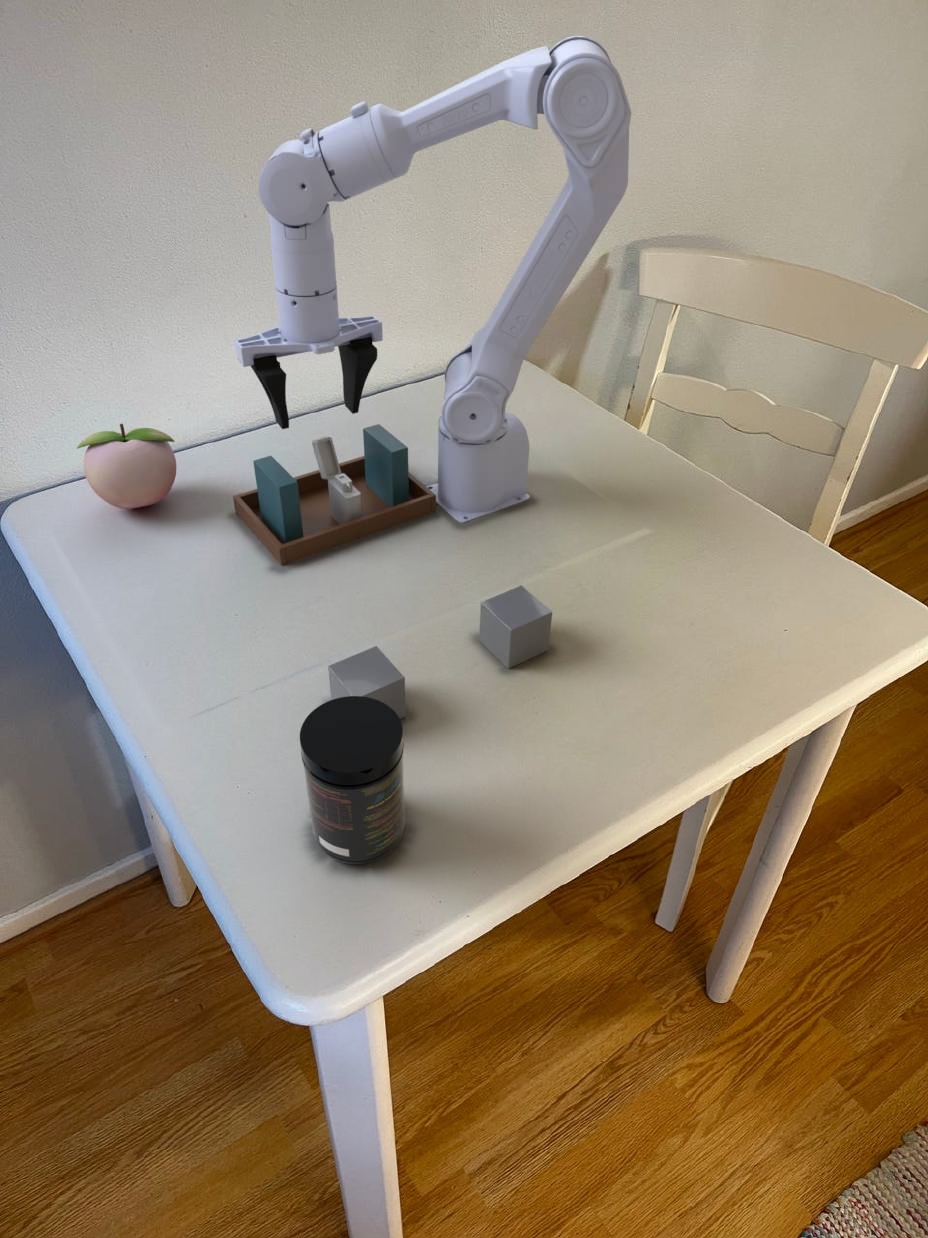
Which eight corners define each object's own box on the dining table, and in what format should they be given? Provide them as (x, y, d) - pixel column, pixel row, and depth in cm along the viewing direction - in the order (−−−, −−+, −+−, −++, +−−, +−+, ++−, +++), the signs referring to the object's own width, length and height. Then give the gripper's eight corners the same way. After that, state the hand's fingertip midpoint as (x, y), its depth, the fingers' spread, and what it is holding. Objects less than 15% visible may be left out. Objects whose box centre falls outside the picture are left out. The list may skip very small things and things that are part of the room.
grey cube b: (378, 684, 77) (376, 645, 74) (405, 716, 74) (405, 677, 71) (331, 705, 75) (327, 665, 72) (358, 739, 72) (355, 699, 69)
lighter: (363, 528, 94) (359, 461, 88) (348, 533, 93) (344, 466, 88) (331, 497, 98) (325, 431, 93) (317, 501, 97) (310, 435, 92)
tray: (383, 468, 104) (382, 449, 102) (436, 514, 97) (436, 495, 95) (235, 515, 96) (232, 495, 94) (281, 569, 89) (279, 549, 87)
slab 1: (278, 512, 95) (271, 454, 91) (304, 540, 92) (297, 481, 87) (261, 518, 95) (252, 460, 90) (286, 546, 91) (279, 487, 86)
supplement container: (420, 808, 67) (419, 711, 60) (382, 882, 62) (376, 785, 55) (338, 782, 69) (328, 684, 62) (295, 851, 64) (279, 754, 57)
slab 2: (381, 479, 101) (378, 423, 96) (409, 504, 97) (408, 447, 93) (365, 484, 100) (362, 428, 96) (393, 509, 96) (391, 452, 92)
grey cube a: (518, 622, 83) (521, 584, 81) (548, 650, 81) (552, 612, 78) (478, 640, 81) (480, 601, 79) (508, 669, 79) (511, 630, 76)
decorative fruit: (101, 539, 92) (77, 453, 85) (91, 499, 97) (67, 415, 91) (194, 520, 95) (177, 435, 88) (179, 481, 100) (162, 399, 94)
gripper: (244, 313, 79) (263, 449, 88) (394, 288, 85) (397, 418, 93) (221, 286, 84) (240, 418, 93) (364, 264, 89) (369, 390, 98)
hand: (317, 416), depth 93 cm, fingers open, 7 cm apart
